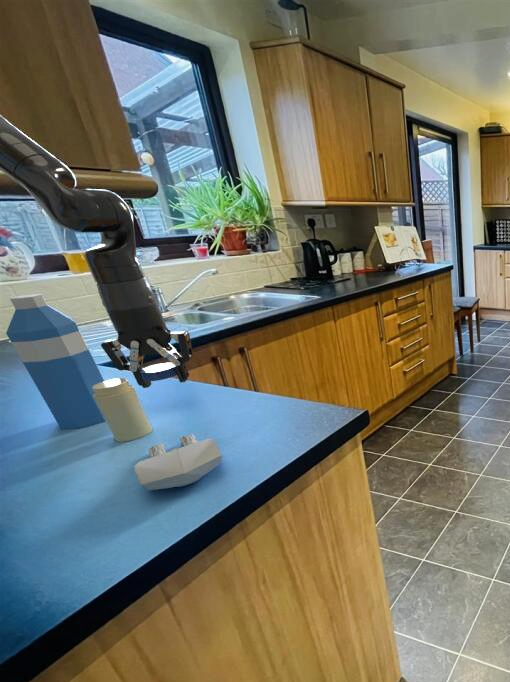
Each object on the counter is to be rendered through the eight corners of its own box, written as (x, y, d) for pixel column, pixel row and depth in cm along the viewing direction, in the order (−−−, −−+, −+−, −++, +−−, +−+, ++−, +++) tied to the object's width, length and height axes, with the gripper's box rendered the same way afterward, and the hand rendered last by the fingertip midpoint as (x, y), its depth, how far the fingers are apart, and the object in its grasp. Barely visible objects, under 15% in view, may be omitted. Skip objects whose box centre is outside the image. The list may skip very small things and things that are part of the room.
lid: (164, 380, 80) (161, 372, 79) (135, 381, 80) (132, 373, 79) (186, 370, 85) (183, 362, 85) (158, 371, 85) (155, 363, 85)
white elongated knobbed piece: (211, 444, 75) (201, 421, 73) (232, 474, 61) (221, 446, 59) (141, 468, 68) (129, 443, 67) (148, 508, 54) (133, 477, 53)
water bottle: (74, 432, 76) (2, 303, 66) (47, 425, 80) (-26, 300, 69) (131, 410, 84) (74, 292, 74) (104, 405, 87) (46, 290, 77)
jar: (110, 444, 72) (82, 392, 68) (121, 431, 76) (96, 381, 72) (148, 437, 74) (123, 385, 70) (156, 424, 78) (133, 375, 74)
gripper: (182, 296, 82) (211, 371, 89) (95, 304, 78) (132, 383, 85) (168, 303, 76) (200, 384, 83) (72, 312, 71) (114, 397, 78)
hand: (165, 383), depth 84 cm, fingers closed on lid, 5 cm apart
